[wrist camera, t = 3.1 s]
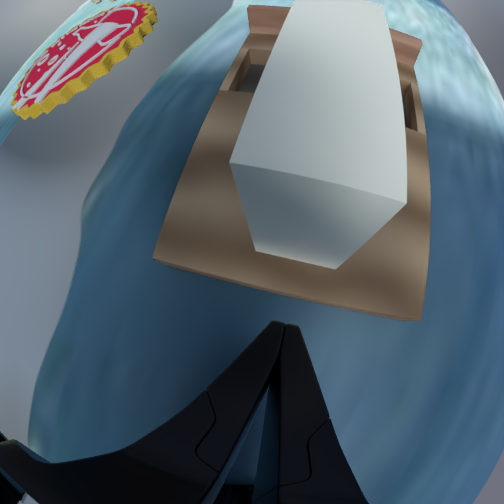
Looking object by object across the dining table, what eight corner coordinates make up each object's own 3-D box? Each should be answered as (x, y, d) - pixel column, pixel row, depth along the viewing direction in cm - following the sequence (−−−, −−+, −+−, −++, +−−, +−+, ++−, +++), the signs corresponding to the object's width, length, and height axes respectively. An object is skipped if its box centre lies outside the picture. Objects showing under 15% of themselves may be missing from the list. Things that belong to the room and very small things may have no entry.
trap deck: (404, 321, 17) (449, 319, 12) (165, 265, 20) (126, 243, 14) (405, 76, 23) (420, 39, 17) (254, 45, 25) (249, 5, 20)
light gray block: (335, 269, 16) (406, 203, 7) (255, 251, 17) (229, 162, 7) (355, 103, 19) (382, 5, 10) (296, 91, 20) (300, -12, 10)
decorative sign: (55, 116, 23) (-7, 110, 28) (66, 128, 26) (0, 116, 31) (189, -8, 28) (86, 12, 34) (192, 4, 31) (90, 19, 36)
